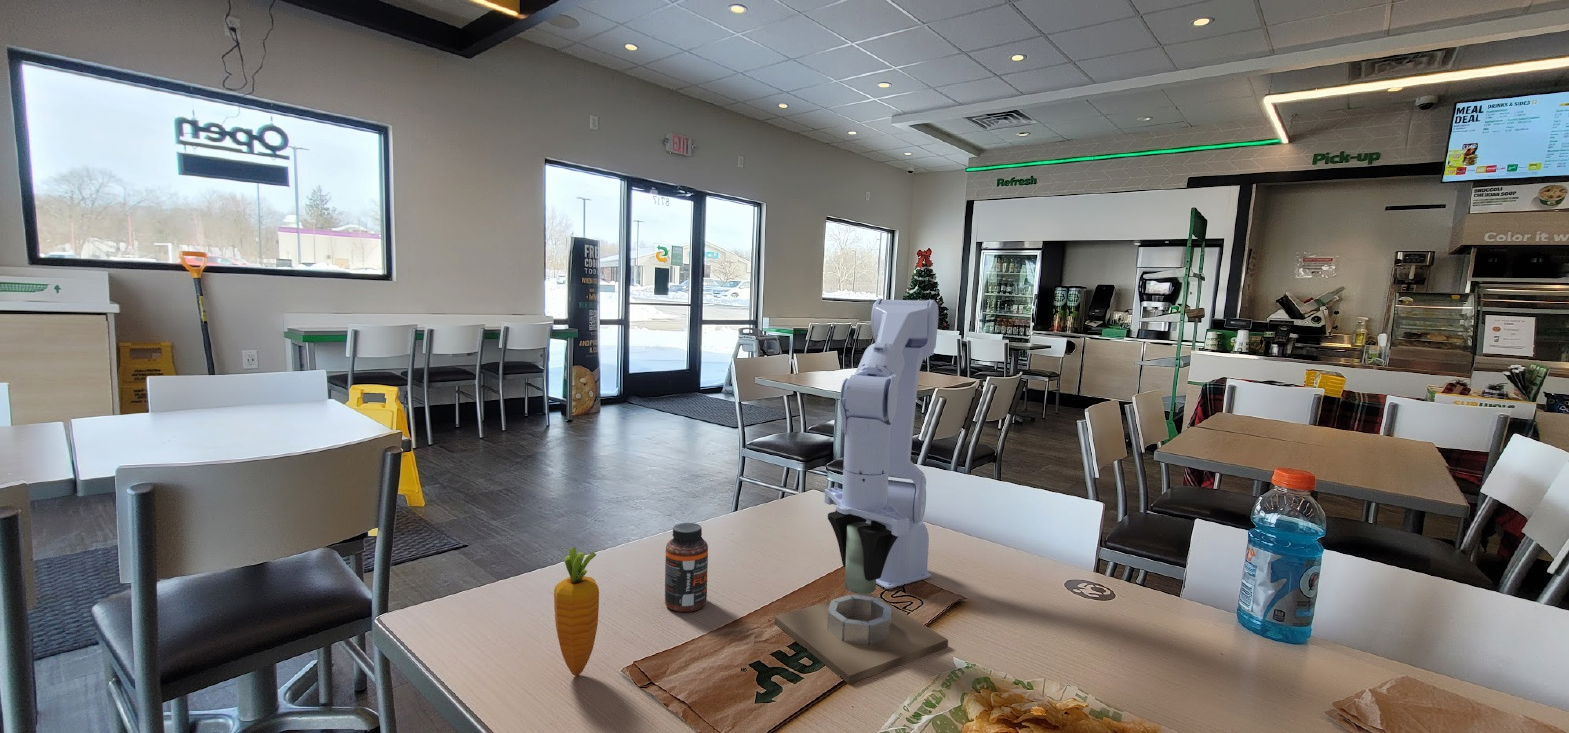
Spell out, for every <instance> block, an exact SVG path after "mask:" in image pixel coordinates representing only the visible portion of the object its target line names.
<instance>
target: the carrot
mask: <svg viewBox="0 0 1569 733" xmlns="http://www.w3.org/2000/svg"><path fill="white" fill-rule="evenodd" d="M585 555H586V554H585V553H584V552H580V551H578V553H577V549H576V547H575V546H574V547H570V548H569V549H568V555H567V556H565V557H564V564H565V567H566V570H567V572H568V574H569V576H568V577H566V578H564V579H563V580H561V581H559V582H558V583H556V585H555V586H554V589H553V603H554V605H553V606H554V619H555V620H554V621H555V627H556V628H555V629H556V634H557V639H558V642H559V643H558V644H559V648H560V651H561V654H562V655H561V656H562V657H563V660H564V662H565V664H566V666H567V668H568V669H569V671H570V673H571V675H573V676H575V677H579V676H580V675H581V674H582V673H583V672H584V670H585V668H586V666H587V664H588V662H589V660H590V657H591V655H592V652H593V650H594V645H595V641H596V636H597V630H598V625H599V624H598V623H599V612H600V611H599V608H600V607H599V606H600V605H599V604H600V589H599V586H598V583H597V582H596V580H595V578H593V577H591V576H585V575H586V574H587V573H588V570H587V569H586V568H587V565H588V564H589V562H590V561H592V560H593V559H594V557H596V556H597V554H596V553H595V552H592V553H590V554H589V555H588V556H586V557H585ZM584 558H585V559H584Z"/></svg>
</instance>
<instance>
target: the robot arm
mask: <svg viewBox="0 0 1569 733" xmlns="http://www.w3.org/2000/svg"><path fill="white" fill-rule="evenodd" d="M870 314H871V317H870V319H871V320H870V326H871V327H870V328H871V333H872V334H873V339H874V343H873V344H869V346H868V347H867V348H866V349H865V351H863V352H864V353H863V354H862V357H861V359H860V361H859V364H858V366H857V368H856V370H855V373H854V374H852V375H850V377H849V378H848V377H847V378H845V379H844V380H843V382H842V384H841V388H840V393H839V394H840V396H839V411H840V416H841V433H843V434H844V443H843V445H844V448H843V470H842V488H839V487H831V488H825V489H824V504H826V505H834V506H835V511H831V512H829V513H827V520H828V522H829V523H830V525H831V527H832V530H833V533H834V535H835V537H836V540H837V544H838V548H839V553H840V554H839V555H840V557H841V563H842V566H843V567H844V568H845V567H846V540H847V525H848V524H850V523H854V522H866V523H871V525H867V526H862V527H858V528H857V531H858V533H859V536H860V539H861V542H862V547H863V554H864V575H865V579H866V580H868V581H871V580H875V579H876V585H878V586H880V587H882V588H883V587H884V588H883V589H885V590H891V589H894V588H897V586H898V587H901V586H904V584H905V585H909V584H911V583H915V582H919V581H921V580H925V579H929V578H930V577H931V576H932V574H931V573H930V572H928V562H929V543H930V541H929V540H930V537H929V532H928V528H927V526H926V524H925V523H924V522H923V520H924V517H925V512H926V506H927V504H926V503H927V478H926V475H925V473H924V472H923V471H922V470H921V469H920V468H919V467H918V465H916V464H915V463H913V461H912V460H911V459H912V458H911V457H912V448H913V447H912V446H913V436H914V426H915V417H916V415H915V414H916V404H917V395H918V385H919V376H920V375H919V374H920V371H921V368H922V365H923V361H924V359H927V358H929V357H930V356H931V357H932V356H933V355H934V353H935V349H936V347H937V338H938V337H937V336H938V327H939V306H938V303H937V302H936V300H935V299H930V300H915V299H913V300H911V299H906V300H905V299H904V300H903V299H883V298H877V299H876V301H875V302H873V305H872V309H871V313H870ZM889 478H896V479H905V480H911V481H912V482H908V481H903V480H901V481H900V480H894V479H889Z"/></svg>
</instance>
